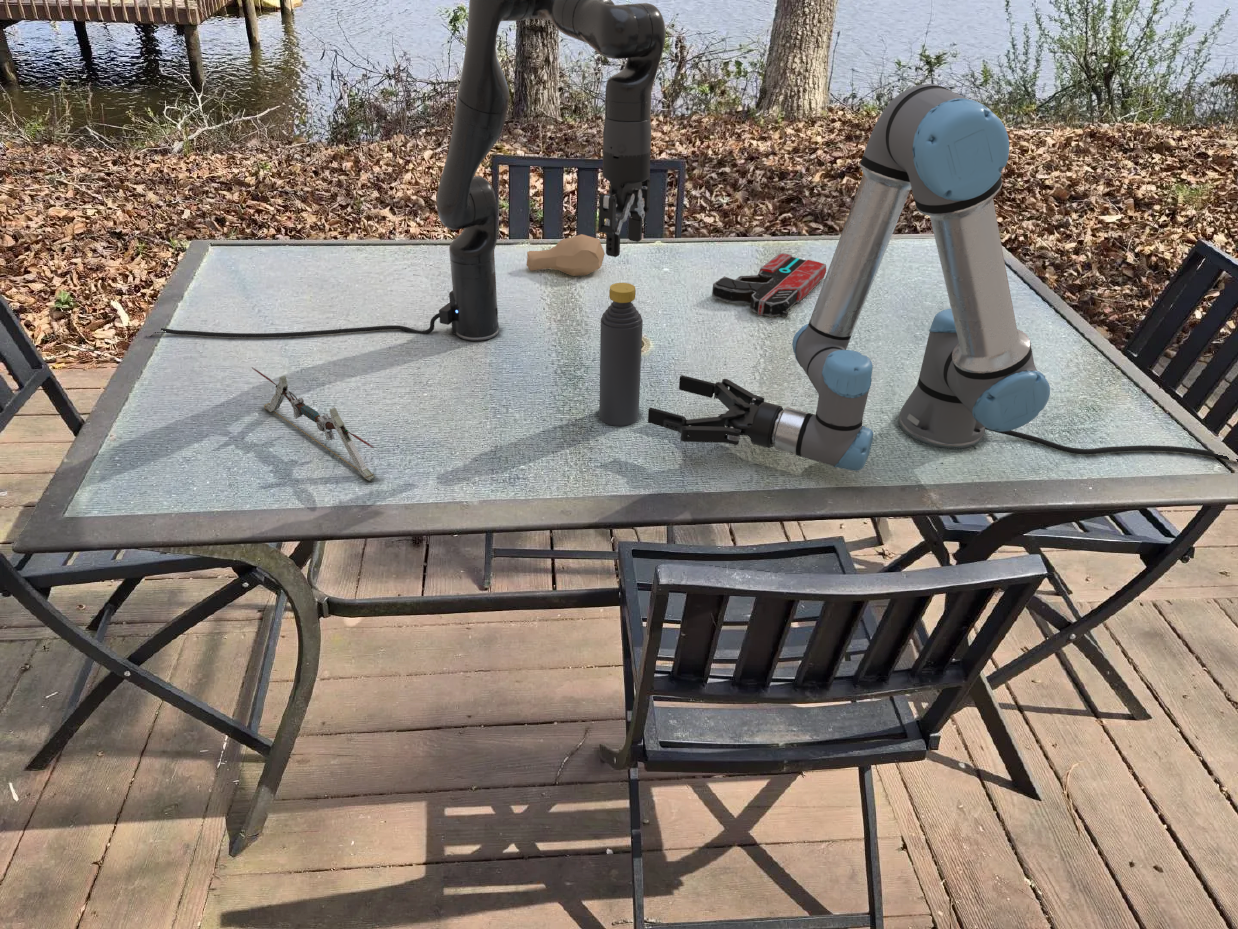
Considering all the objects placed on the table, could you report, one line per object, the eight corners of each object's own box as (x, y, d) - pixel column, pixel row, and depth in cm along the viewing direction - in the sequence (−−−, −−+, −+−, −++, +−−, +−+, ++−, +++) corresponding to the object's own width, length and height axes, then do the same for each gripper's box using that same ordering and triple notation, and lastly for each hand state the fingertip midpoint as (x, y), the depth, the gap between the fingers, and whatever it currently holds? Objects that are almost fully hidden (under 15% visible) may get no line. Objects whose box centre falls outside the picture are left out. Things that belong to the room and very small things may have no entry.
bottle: (592, 411, 166) (593, 285, 152) (627, 403, 168) (631, 278, 154) (610, 429, 160) (612, 301, 146) (645, 421, 163) (651, 294, 149)
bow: (385, 483, 144) (378, 432, 138) (376, 488, 143) (368, 436, 137) (265, 401, 165) (254, 353, 160) (256, 404, 164) (245, 356, 158)
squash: (606, 279, 220) (601, 247, 214) (527, 286, 222) (521, 255, 215) (606, 257, 228) (602, 226, 222) (531, 264, 229) (524, 233, 223)
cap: (604, 295, 152) (605, 284, 151) (627, 291, 154) (628, 280, 153) (616, 304, 149) (616, 294, 148) (639, 300, 150) (640, 290, 149)
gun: (708, 284, 207) (784, 305, 199) (760, 245, 229) (831, 262, 221) (706, 302, 209) (781, 323, 201) (758, 261, 231) (828, 278, 223)
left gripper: (625, 134, 144) (623, 231, 153) (583, 153, 133) (583, 257, 142) (667, 140, 141) (662, 239, 150) (628, 160, 130) (625, 265, 140)
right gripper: (751, 482, 142) (634, 448, 150) (797, 414, 161) (690, 387, 169) (756, 443, 138) (635, 410, 146) (802, 378, 157) (693, 352, 164)
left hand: (624, 247), depth 146 cm, fingers open, 8 cm apart
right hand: (664, 398), depth 157 cm, fingers open, 13 cm apart
